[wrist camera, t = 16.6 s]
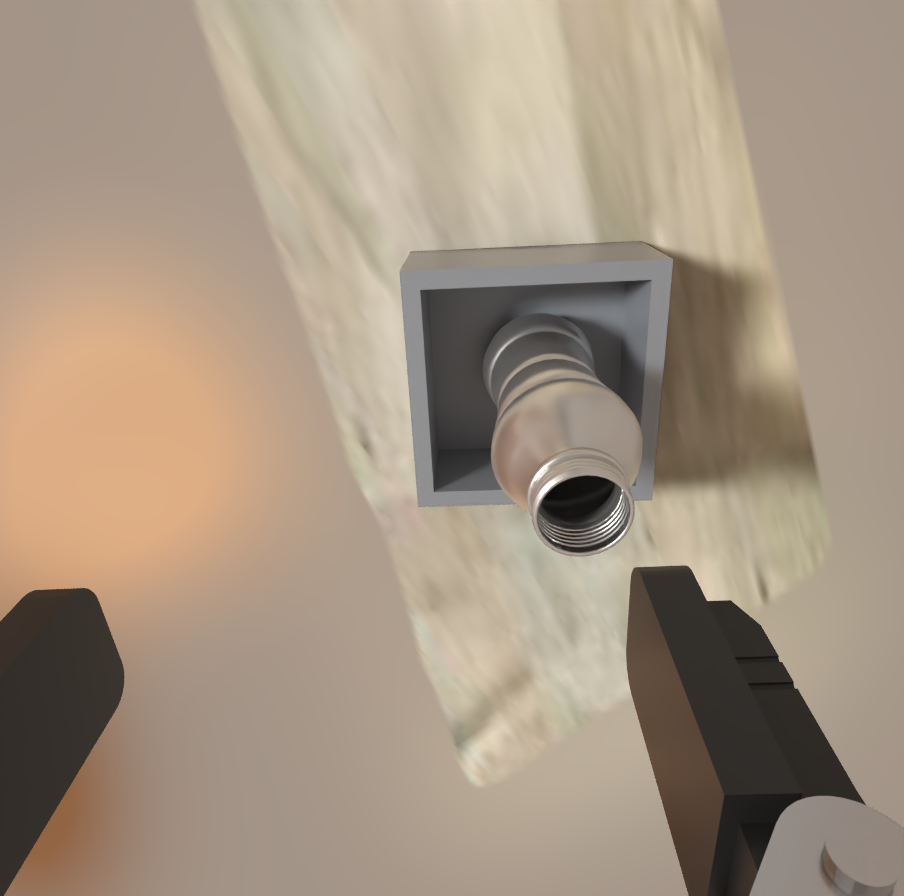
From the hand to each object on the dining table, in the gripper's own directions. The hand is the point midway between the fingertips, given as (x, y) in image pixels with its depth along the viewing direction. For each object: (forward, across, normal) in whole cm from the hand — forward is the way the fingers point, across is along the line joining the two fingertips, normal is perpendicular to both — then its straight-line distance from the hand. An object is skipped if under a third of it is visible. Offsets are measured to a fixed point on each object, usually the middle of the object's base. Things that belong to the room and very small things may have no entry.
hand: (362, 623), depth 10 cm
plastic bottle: (+33, -5, +7) cm, 34 cm away
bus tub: (+34, -5, +7) cm, 35 cm away
